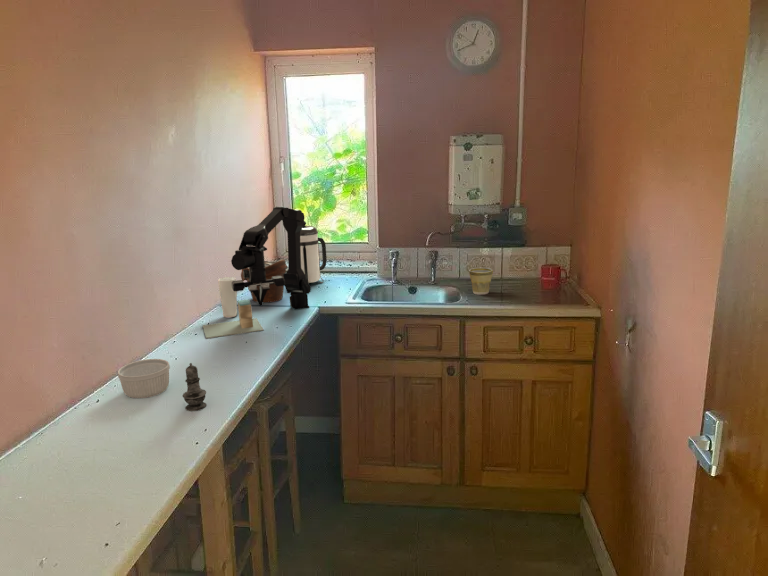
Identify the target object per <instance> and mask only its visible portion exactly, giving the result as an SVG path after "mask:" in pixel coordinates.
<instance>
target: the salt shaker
mask: <svg viewBox="0 0 768 576" xmlns="http://www.w3.org/2000/svg"><path fill="white" fill-rule="evenodd" d="M185 374H186V375H185V376H186V379H185V380H184V382H185V383H186V385H187V391H185V392H183V394H182V398H183V399H184V401H185V402H186V404H187V405H186V406H185V407H184V408H185V410H186V411H188V412H196V411H201V410H203V409H205V408H206V407H207V403H206V402H204V400H205V399H206V395H207V391H206V390H205V389H203V388H201V385H200V380H201V378H200V377H199V372H198V367H197V366H195V365H193V363H192V362H190V363H189V365H188V366H187V367H186V368H185Z"/></svg>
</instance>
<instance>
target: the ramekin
mask: <svg viewBox="0 0 768 576" xmlns="http://www.w3.org/2000/svg"><path fill="white" fill-rule="evenodd" d="M170 369H171V366H170V362H169V361H167V360H166V359H161V358H148V359H147V358H146V359H140V360H136V361H133V362H129V363H127V364H125V365H123V366H121V367H120V368H119V369H118V370H117V378H118V379H119V381H120V385H121V387H122V391H123V393H124V395H126V396H127V397H129V398H131V399H146V398H153V397H155V396H158V395H160V394H162V393H163V392H165V391H167V388H168V387H169V384H170Z"/></svg>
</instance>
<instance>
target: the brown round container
mask: <svg viewBox="0 0 768 576" xmlns="http://www.w3.org/2000/svg"><path fill="white" fill-rule="evenodd" d="M264 261H265V273H266V280H269V279H272V277H274V276H282V277H283V278H284V273H286V272H287V270H288V268H289V266H287V262H286V260H285V259H284V258H281V259H279V260H277V261H267V260H264ZM245 269H248V271H249V267H248V268H245ZM245 269H242V270H241V273H240V280H243V282H250V281H249V278H244V276H243V270H245ZM256 284H257V283H256ZM269 288H270V290H267V292H266V294H265V297H264V300H263V303H273V302H278V301H280V300H282V299H283V297H284V288H285V286H276V285H275V284H270V285H269ZM257 289H258V292H259V297H260V286H257ZM250 295H251V299H252V301H254V302H256V303H258V302H257V300H256V297H255V295H254V293H253V292H250Z"/></svg>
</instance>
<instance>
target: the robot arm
mask: <svg viewBox="0 0 768 576" xmlns="http://www.w3.org/2000/svg"><path fill="white" fill-rule="evenodd" d="M304 221H305V213H303V211H302V210H300V209H292V208H289V207H287V206H274V207H273V208H272V211H271V212H269V214H268V215H266V216H265V217H264V218H263V220H262V221H260V222H259V224H257V225H255V226H252V227H250V228H248V229H247V230H245V231H244V232H243V234H242V235H243V236H242V238H241V242H240V244H239V247H238V249H237V250H235V251H234V253H235V254H234V255H233V254H232V258H231V261H230V262H231V266H232V267H233V268H234V269H235V270H236V271H242V269H245V268H248V267H249V271H248V269H245V270H243V276H244V278H249V281H250V282H247V281H243V280H242V279H239V280H236V281H233V282H232V289H233V291H237V292H240V291H244V290H245V289H246V288H247V290H248V291H249V292H250V293H251V292H253V293H254V295H255V297H256V300H257V302H256V303H257V304H258V306H259V307H263V303H264V302H263V300H264V297H265V294H266V292H267V290H270V288H269V285H270V284H275V285H276V286H284V288H285V289H286V293H287V294H290V296H289V304H290V307H291V308H292V309H293V310H301V309H309V308H310V305H309V300H308V299H309V298H308V294H310V293H311V292H312V291H311V290H312V286H311V285H310V283H309V284H308V283H307V281H306V277H305V274H304V272H303V270H302V269H301V249H300V231H301V229H302V228H303V226H304ZM281 222H282V225H283V228H284V229H285V232H286V233H287V237H286V238H287V259H288V260H287V261H288V266H287V267H288V268H287V269H286V273H284V278H283V277H282V276H274V277H272V279H269V280H266V273H265V261H266V260H265V253H264V252H266V251H268V248H267V247H266V246H264V245H265V244H266V242H267V241H268V240H269V234H270V233H271V232H272V231H273V230H274V229H275V228H276V227H277V226H278V225H279V223H281ZM256 283H257V284H256ZM257 286H260V297H259V292H258V289H257Z"/></svg>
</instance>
